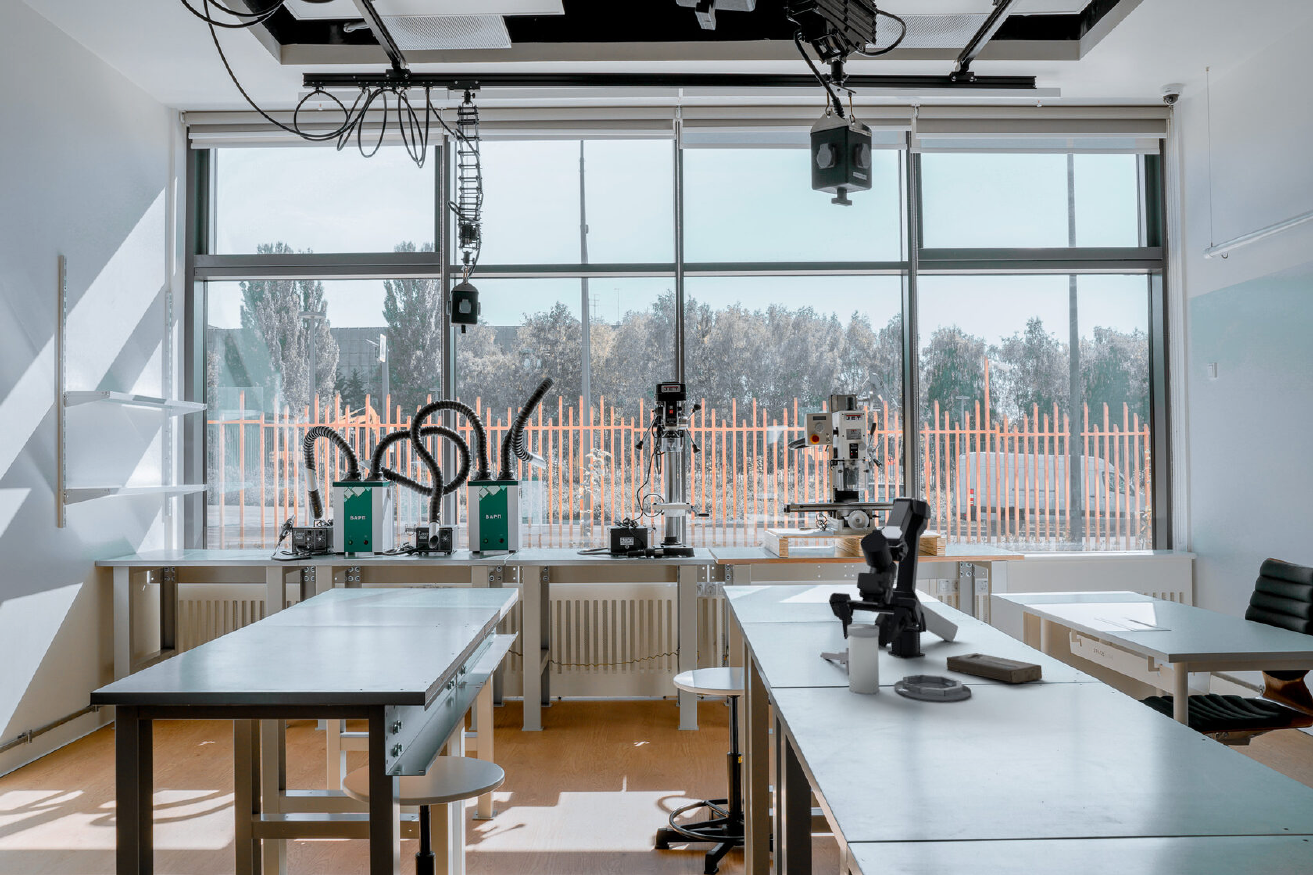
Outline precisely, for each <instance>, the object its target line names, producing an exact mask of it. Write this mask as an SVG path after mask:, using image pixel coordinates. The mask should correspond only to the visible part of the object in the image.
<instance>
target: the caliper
mask: <svg viewBox="0 0 1313 875" xmlns="http://www.w3.org/2000/svg"><path fill="white" fill-rule="evenodd" d="M819 656H820V657H822V658H823V659H825V660H835V661H839V665H844V666H845V671H846V675H847V676H849V647H845V651H839V652H837V653H836V652H827V651H826V652H825V651H823V652H821V654H820V655H819Z"/></svg>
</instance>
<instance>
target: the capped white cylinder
mask: <svg viewBox="0 0 1313 875" xmlns="http://www.w3.org/2000/svg"><path fill="white" fill-rule="evenodd" d="M847 633H848V635H849V636H848V648H849V675H848V682H849V684H848V686H849V688H848V689H849V691H851V692H852V693H853V692H854V693H858V694H868V695H869V694H870V695H871V694H877V693H878V692H879V691H880V674H879V673H880V672H879V667H880V666H879V664H880V663H879V645H878V636H879V627H878V626H876V625H874V624H869V623H852V624H851V625H848V626H847Z"/></svg>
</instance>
